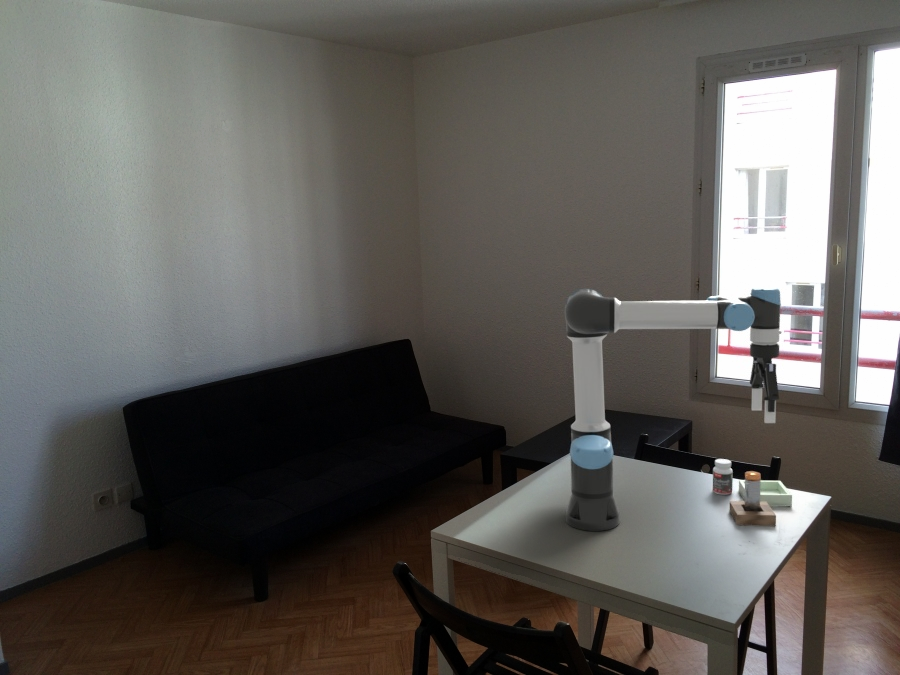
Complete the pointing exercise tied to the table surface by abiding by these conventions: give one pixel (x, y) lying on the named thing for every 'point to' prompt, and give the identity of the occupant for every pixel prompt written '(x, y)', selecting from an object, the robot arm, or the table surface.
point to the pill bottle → (722, 477)
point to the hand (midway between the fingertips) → (763, 416)
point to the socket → (752, 514)
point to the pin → (752, 491)
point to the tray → (771, 493)
